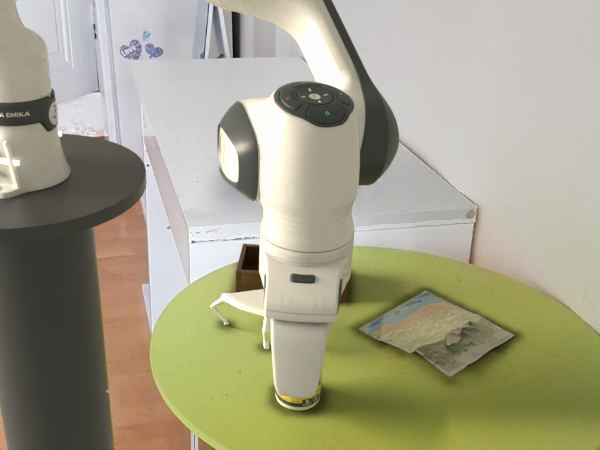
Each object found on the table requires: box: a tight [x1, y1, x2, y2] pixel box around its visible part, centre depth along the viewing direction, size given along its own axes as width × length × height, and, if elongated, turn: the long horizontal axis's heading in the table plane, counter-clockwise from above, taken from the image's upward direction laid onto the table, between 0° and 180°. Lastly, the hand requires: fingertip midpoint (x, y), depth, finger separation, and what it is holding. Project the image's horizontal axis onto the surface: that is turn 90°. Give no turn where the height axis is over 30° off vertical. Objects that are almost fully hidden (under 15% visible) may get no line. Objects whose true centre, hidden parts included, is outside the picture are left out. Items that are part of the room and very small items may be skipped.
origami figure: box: [209, 289, 270, 350], centre depth 88 cm, size 12×8×5 cm
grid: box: [235, 243, 349, 303], centre depth 98 cm, size 14×7×4 cm, turn 87°
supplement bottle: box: [275, 365, 324, 411], centre depth 77 cm, size 5×5×8 cm
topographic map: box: [358, 290, 515, 378], centre depth 90 cm, size 14×14×2 cm
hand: (299, 373), depth 78 cm, fingers open, 5 cm apart
